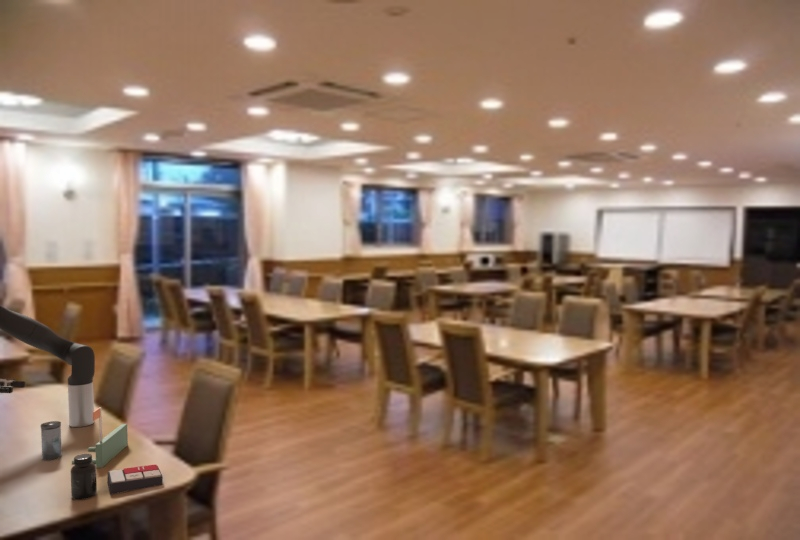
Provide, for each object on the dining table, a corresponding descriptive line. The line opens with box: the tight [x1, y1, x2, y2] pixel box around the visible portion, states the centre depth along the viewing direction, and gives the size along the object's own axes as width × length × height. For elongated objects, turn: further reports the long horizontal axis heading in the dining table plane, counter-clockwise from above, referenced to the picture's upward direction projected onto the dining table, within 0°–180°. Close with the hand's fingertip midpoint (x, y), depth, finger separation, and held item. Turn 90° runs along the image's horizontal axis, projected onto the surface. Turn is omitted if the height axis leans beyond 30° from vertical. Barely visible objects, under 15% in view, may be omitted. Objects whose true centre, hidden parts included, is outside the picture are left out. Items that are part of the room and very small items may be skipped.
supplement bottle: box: [70, 453, 98, 501], centre depth 184 cm, size 7×7×12 cm
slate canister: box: [40, 420, 63, 461], centre depth 215 cm, size 6×6×12 cm
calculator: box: [106, 464, 164, 495], centre depth 193 cm, size 11×4×15 cm
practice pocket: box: [71, 407, 129, 469], centre depth 214 cm, size 25×12×20 cm, turn 3°
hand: (18, 387), depth 214 cm, fingers open, 8 cm apart
